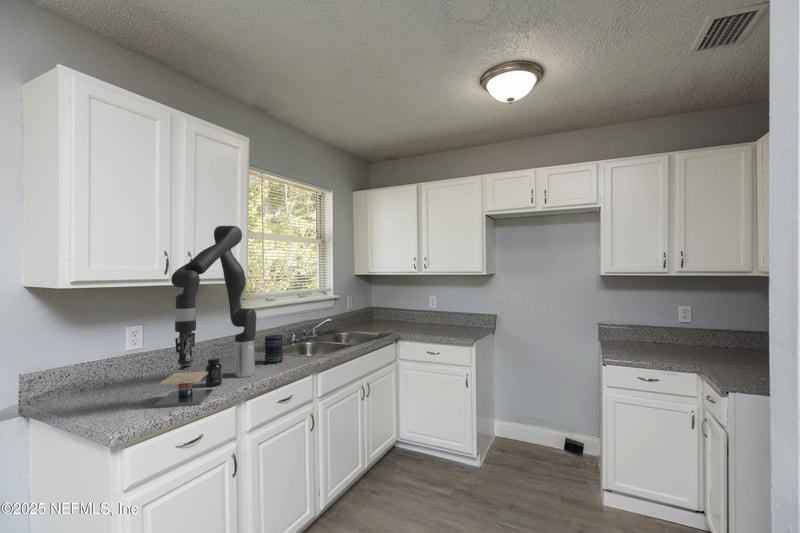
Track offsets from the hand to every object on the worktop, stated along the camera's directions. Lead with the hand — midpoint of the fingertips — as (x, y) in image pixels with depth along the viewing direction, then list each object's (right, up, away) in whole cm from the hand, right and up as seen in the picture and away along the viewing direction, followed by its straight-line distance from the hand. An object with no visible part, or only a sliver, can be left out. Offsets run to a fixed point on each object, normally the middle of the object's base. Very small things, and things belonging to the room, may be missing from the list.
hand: (185, 360), depth 155 cm
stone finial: (0, -3, 0) cm, 3 cm away
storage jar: (+16, -17, +61) cm, 65 cm away
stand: (0, -16, 0) cm, 16 cm away
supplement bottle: (+2, -16, +19) cm, 25 cm away
